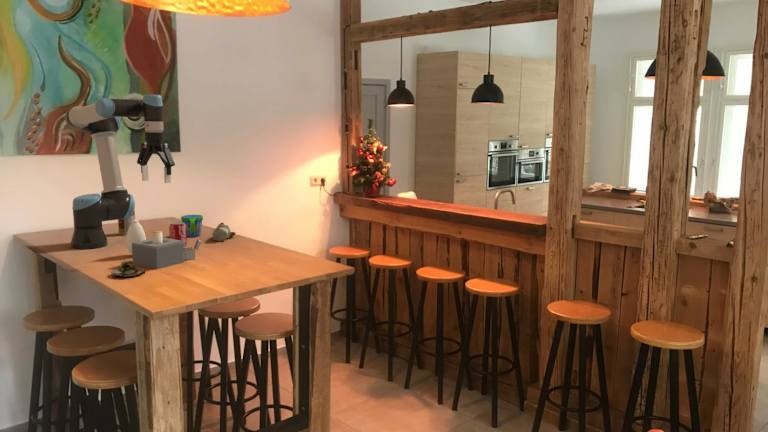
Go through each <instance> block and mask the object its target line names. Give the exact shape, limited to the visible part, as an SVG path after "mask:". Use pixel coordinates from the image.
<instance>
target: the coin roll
mask: <svg viewBox="0 0 768 432" xmlns="http://www.w3.org/2000/svg"><path fill="white" fill-rule="evenodd" d="M163 238H164V237H163V231H162V230H154V231H152V232H151V239H152V244H160V243H163Z"/></svg>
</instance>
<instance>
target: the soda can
mask: <svg viewBox="0 0 768 432" xmlns="http://www.w3.org/2000/svg"><path fill="white" fill-rule="evenodd" d="M168 229H169V230H168V231H169V232H168V233H169V234H168V235H169V239H175V240H182V241H183V244H184V250H186V248H187V247H188V242H187V241H188V240H187V239H188V237H186V225H185V222H182V221H172V222H170V223H169V227H168Z"/></svg>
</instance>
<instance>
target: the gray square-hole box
mask: <svg viewBox="0 0 768 432" xmlns="http://www.w3.org/2000/svg"><path fill="white" fill-rule="evenodd" d="M131 260H132V262H133V264H132V265H134V266H137V267H139V266H140V267H142V268H143V267H144V268H148V267H149V268H150V269H155V270H159V268H160V269H163V268H167V267H171V266H173V265H177V264H182V263H184V262H185V260H184V244H183V241H182V240H175V239H170V238H167V237H163V243H160V244H152V238H149V239H148V238H147V239H146V240H143V241H138V242H133V243H132V253H131ZM149 268H148V269H149Z"/></svg>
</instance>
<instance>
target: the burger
mask: <svg viewBox="0 0 768 432" xmlns="http://www.w3.org/2000/svg"><path fill="white" fill-rule="evenodd" d="M110 273H111V274H112V275H111V276H110V277H111V278H113V279H116V277H121V278H122V277H125V278H126V277H133V276H138V275H141V274H142V273H143V274H146V269H145V268H143V267H136V265H133V259H129V258H127V259H126V258H125V259H124V260H123V261H121V263H120V266H118V268H115V269H113V270H112V271H111V272H110Z"/></svg>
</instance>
